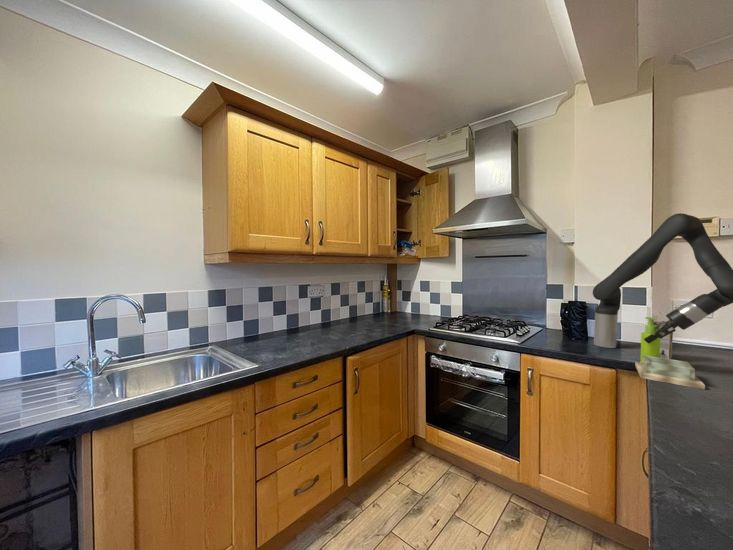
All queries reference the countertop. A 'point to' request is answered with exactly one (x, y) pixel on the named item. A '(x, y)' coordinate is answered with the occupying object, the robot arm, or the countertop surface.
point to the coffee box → (665, 345)
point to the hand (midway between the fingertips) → (644, 339)
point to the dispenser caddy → (668, 371)
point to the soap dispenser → (654, 346)
